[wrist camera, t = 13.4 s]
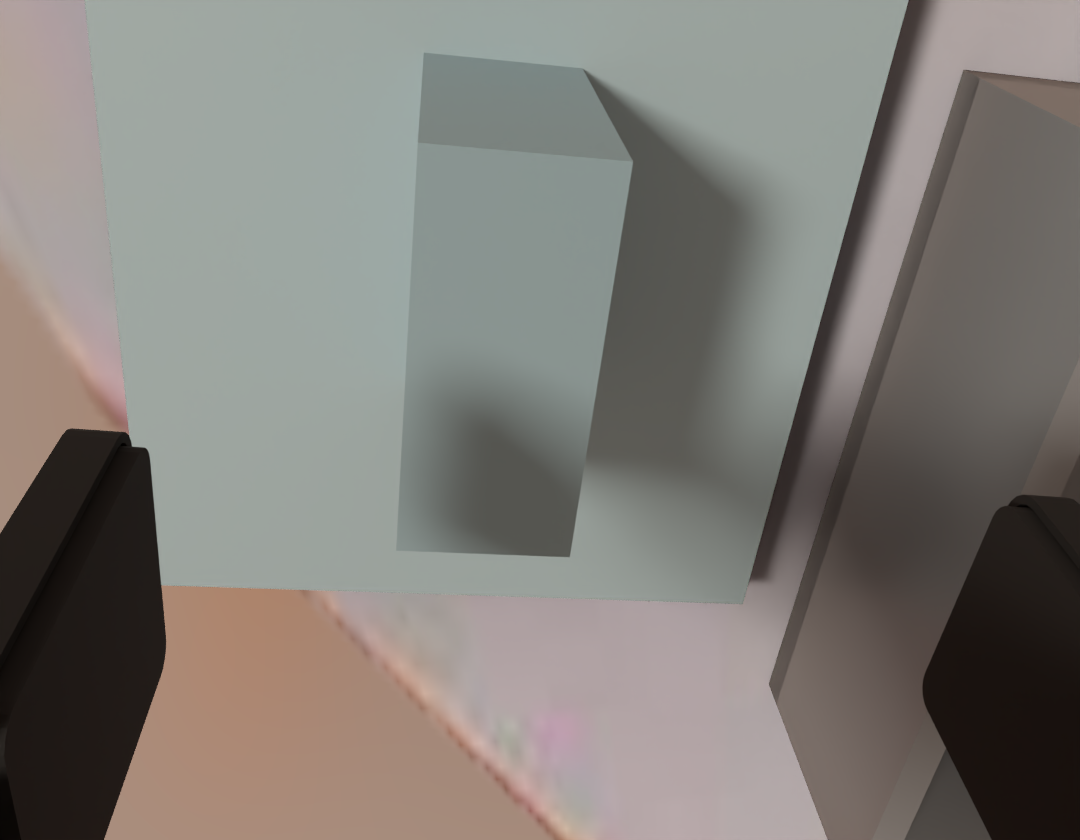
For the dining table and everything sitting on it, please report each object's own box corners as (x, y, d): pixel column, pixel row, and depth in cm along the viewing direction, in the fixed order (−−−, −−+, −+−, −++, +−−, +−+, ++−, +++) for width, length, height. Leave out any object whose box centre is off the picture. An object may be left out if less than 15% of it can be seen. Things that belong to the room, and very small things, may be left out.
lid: (927, -257, 19) (1209, -294, 12) (722, 551, 29) (814, 793, 22) (85, -382, 17) (-157, -511, 10) (165, 529, 27) (67, 787, 20)
